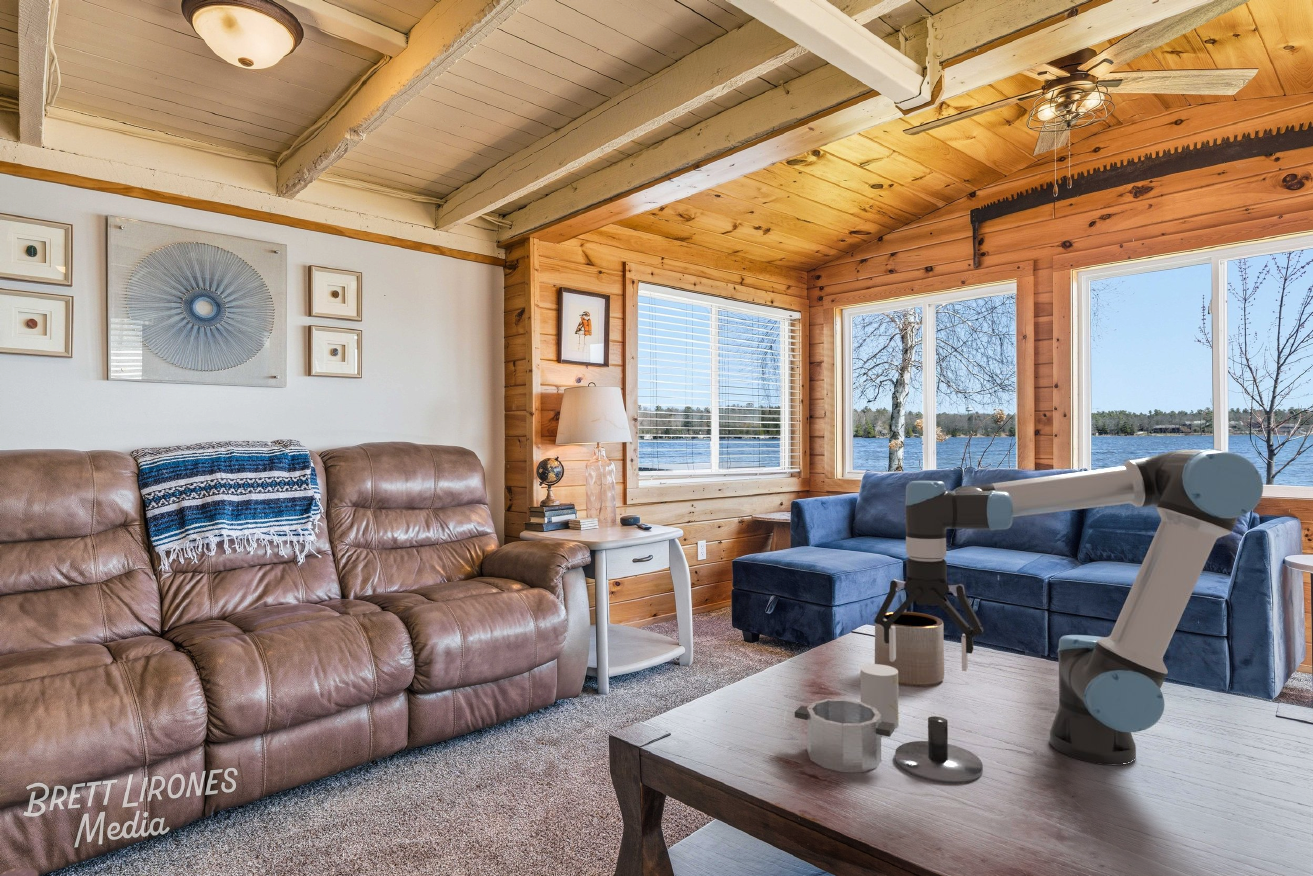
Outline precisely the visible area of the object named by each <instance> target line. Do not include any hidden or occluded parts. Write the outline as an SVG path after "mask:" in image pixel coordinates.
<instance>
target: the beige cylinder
mask: <svg viewBox="0 0 1313 876" xmlns="http://www.w3.org/2000/svg"><path fill="white" fill-rule="evenodd" d="M860 702H862V703H865V704H867V705H869V706H871V707H874V708H876V709H877V711H878V712H879V713H880V715H881V721H883V722H888V723H893V724H895V729H897V728H898V727H899V724H900V723H899V720H900V719H899V717H900V716H899V713H900V712H899V684H898V670H897V669H895V668H893V667H891V666H887V665H880V664H875V663H872V664H871V663H870V664H864V665H862V666H861V667H860Z"/></svg>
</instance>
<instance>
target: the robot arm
mask: <svg viewBox="0 0 1313 876" xmlns="http://www.w3.org/2000/svg"><path fill="white" fill-rule="evenodd" d="M1263 492H1264V483H1263V479H1262V476H1261V474H1260V473H1259V471H1258V469H1257V467H1256V466H1255V465H1254V463H1252V462H1251V461H1250V460H1249V459H1247V458H1245V457H1244V456H1242V455H1240V454H1237V453H1235V452H1231V451H1228V450H1221V449H1219V448H1218V449H1216V448H1215V449H1214V448H1210V449H1191V448H1190V449H1187V448H1186V449H1179V450H1173V451H1168V452H1165V453H1161V454H1157V455H1152V456H1148V457H1143V458H1136V459H1129V460H1125V462H1124V464H1122V466H1115V467H1109V468H1108V467H1107V468H1099V469H1092V470H1091V469H1090V470H1085V471H1077V472H1069V473H1063V474H1062V473H1061V474H1056V475H1046V476H1038V477H1031V478H1023V479H1018V480H1011V481H1002V482H995V483H994V482H993V483H990V484H979V485H974V486H973V485H972V486H971V485H962V486H959V487H956V488H955V489H953V490H947V488H946V484H945V482H944V481H940V480H911V481H910V482H908V483H907V484H906V486H905V502H904V505H905V506H904V509H905V532H906V533H905V554H906V557H907V556H908V557H907V559H906V579H905V581H902V580H899V579H898V578H893V579H892V580H891V581H890V583H889V590H888V591H889V592H888V593H887V595H886V597H885V599H884V601H883V603H882V605H881V606H880V607H879V610H878V612H877V614H876V615H877V616H876V615H875V616H876V618H875V617H874V620H873V621H874V624H875V623H876V624H880V625H882V626H883V628H884V642H885V643H888V644H889V654H890V661H892V662H894V660H895V659H896V626H891V625H892V623H893V622H894V621H895V620H896V619H897V618H898V617H899V616H900V615H901V614H902V613H903V612H906V610H907V609H908V608H909V607H910V606H911V604H912V603H913V602H914V603H916V604H917V605H918V606H924V605H927V606H930V607H936V606H937V605H938V606H939V607H940V608H941V609H942V610H944V612H945V613H946V614H947V616H949V618H950V619H951V620H952V621H953V622H954V623H955V625H956V626H957V627H958V628H959V629H960V631H961V632H962V634H961V635H962V636H961V671H962V672H967V670H968V667H969V665H968V662H969V661H968V660H969V659H968V658H969V657H968V654H972V653H973V651H974V637H975V636H981V635H982V634H983V632H984V627H983V625H982V623H981V621H980V620H979V617H978V616H977V615H976V612H975V610H974V608H973V606H972V605H971V603H970V601H969V599H968V597H967V596H966V589H965V585H964V584H963V583H959V584H953V585H952V584H951V585H950V584H949V583H948V580H947V579H948V577H947V575H948V574H947V573H948V571H947V565H948V564H947V561H946V560H945V559H944V558H946V557H947V529H951V530H954V529H957V530H958V529H959V530H960V529H962V530H963V529H965V530H987V531H988V530H990V531H995V530H1009V528H1011V527H1012V524H1013V522H1014V517H1021V516H1031V515H1039V514H1040V515H1041V514H1051V513H1056V512H1057V513H1058V512H1065V511H1072V510H1073V511H1074V510H1083V509H1091V508H1099V507H1100V508H1101V507H1108V506H1109V507H1110V506H1117V505H1118V506H1119V505H1126V504H1130V505H1132V506H1134V507H1136V508H1144V507H1153V506H1154V507H1156V508H1155V509H1156V511H1157V513H1158V515H1159V516H1160V522H1159V524H1158V525H1159V526H1158V527H1157V530H1156V531H1155V534H1154V536H1153V538H1152V541H1151V543H1150V546H1149V548H1148V550H1147V553H1146V555H1145V557H1144V559H1143V561H1142V562H1141V563H1142V564H1141V566H1140V568H1139V569H1138V573H1137V574H1136V576H1135V580H1134V581H1133V584H1132V587H1131V588H1130V589H1129V593H1128V594H1127V595H1128V596H1127V597H1126V600H1125V602H1124V603H1123V606H1122V609H1121V611H1120V613H1119V615H1118V618H1117V620H1116V622H1115V625H1114V626H1113V628H1112V631H1111V633H1110V635H1109V636H1105V637H1104V636H1098V635H1097V636H1096V635H1086V634H1085V635H1083V634H1069V635H1068V634H1067V635H1062V636H1061V637H1060V638H1059V639H1058V649H1057V654H1058V709H1057V711H1056V714H1055V716H1054V719H1053V722H1052V724H1051V728H1050V730H1049V743H1050V745H1051V746H1052V747H1053V748H1054V749H1055V750H1056V751H1058V752H1060V753H1062V754H1064V755H1066V756H1069V757H1070V758H1073V759H1077V760H1080V761H1083V762H1088V763H1092V764H1098V763H1100V764H1099V765H1106V764H1123V763H1128V762H1131V761H1132V760H1134V759H1135V758H1137V747H1136V746H1137V745H1136V743H1135V741H1134V737H1133V735H1132V733H1138V732H1141V731H1146V730H1148V729H1149V728H1152V727H1153V726H1154V725H1156V724H1157V722H1159V721H1160V720H1161V718H1162V716H1163V714H1164V710H1165V698H1164V696H1163V695H1164V694H1163V692H1162V689H1161V688H1162V685H1163V684H1164V681H1165V679H1166V677H1167V675H1168V669H1167V667H1166V665H1165V663H1164V661H1163V660H1164V658H1163V657H1164V656H1165V654H1166V651H1167V650H1168V647H1169V645H1170V642H1171V640H1172V638H1173V635H1174V633H1175V631H1176V629H1177V627H1178V625H1179V622H1180V620H1181V618H1182V615H1183V613H1184V611H1185V609H1186V607H1187V604H1188V603H1189V602H1190V601H1189V600H1190V599H1191V596H1192V594H1193V592H1194V589H1195V587H1196V585H1197V582H1198V581H1199V579H1200V576H1201V574H1202V572H1203V569H1204V567H1205V565H1206V563H1207V561H1208V559H1209V556H1210V555H1211V552H1212V550H1213V548H1214V545H1215V543H1216V541H1217V540H1218V539H1219V538H1222V537H1225V536H1228V535H1231V534H1232V532H1233V529H1234V528H1235V525H1236V523H1237V522H1238V518H1239V517H1241V516H1242V517H1243V516H1245V515H1246V514H1249V513H1250V512H1251V511H1253V510H1254V509H1255V508H1256V507H1257V506H1258V504H1259V503H1260V502H1261V499H1262V497H1263ZM902 588H904V589H905V591H906V592H907V594H908V595H909V596H908V597H907V598H906V599H905V600H904V601H903V602H902V604H900V605H899V607H897V609H895V611H893V612H894V613H893V614H892V615H891V616H890V617H889V618H888V619H885V618H884V616H885V614H886V613H887V612H889V609H890V607H891V605H892V603H893V601H894V599H895V598H896V595H897V593H898V592H900V591H901V590H902ZM949 592H951V593H952V594H953V596H955V597H956V598H957V600H958V602H959V604H960V606H961V609H963V612H964V613H965V615H966V618H967V619H968V621H969V623H970V624H971V626H970V625H969V623H967V622H966V620H965V619H964V618H963V617H962V615H961V614H960V613H959V612H958V611H957V610H956V608H955V607H954V606H953V605H952V604H951V602H950V601H949V600H948V598H947V597H946V596H947V595H948V594H949ZM1135 760H1136V759H1135ZM1135 760H1134V761H1135ZM1131 763H1132V762H1131ZM1128 764H1129V763H1128ZM1123 765H1124V764H1123Z"/></svg>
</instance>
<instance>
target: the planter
mask: <svg viewBox="0 0 1313 876" xmlns="http://www.w3.org/2000/svg"><path fill="white" fill-rule="evenodd" d="M894 612H895V611H887V613H886V614H885V616H884V618H885V619H888V618H889V617H890V616H891V615H892V614H893V613H894ZM876 616H877V614H876V615H875V616H874V619H875V618H876ZM891 626H896V659H895V660H894V662H892V661H890V654H889V644H888V643H885V642H884V628H883V626H882V625H880V624H876V623H875V622H874V664H880V665H887V666H891V667H893V668H895V669H897V670H898V685H901V686H906V687H908V686H909V687H931V686H933V685H937V684H939V683H941V682H942V681H943V680H944V678H945V650H944V649H945V648H944V647H945V644H944V643H945V641H944V639H945V638H944V621H943V620H942V619H941V618H939V617H938V616H934V615H930V614H928V613H927V614H926V613H920V612H914V611H913V612H912V611H904V612H903V613H902V614H901V615H900V616H899V617H898V618H897V619H896V620H895V621H894V622H893V623H892V625H891Z"/></svg>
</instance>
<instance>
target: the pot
mask: <svg viewBox="0 0 1313 876" xmlns="http://www.w3.org/2000/svg"><path fill="white" fill-rule="evenodd" d="M794 718H795V719H801V720H806V738H807V739H806V741H807V742H806V744H807V745H806V748H807V751H806V752H807V754H808V757H809V759H810V761H811V762H813V763H815V764H817V765H818V766H820V767H822V768H824V769H829V770H832V771H836V772H840V773H865V772H869V771H871V770H874V769H877V768H878V766H879V765H880V763H881V762H882V736H883V737H887V738H891V736H892V734H893V733H894V731H895V724H893V723H888V722H883V721H881V715H880V713H879V712H878V711H877V709H876V708H874V707H871V706H869V705H867V704H865V703H862V702H861V701H856V700H851V699H845V698H841V699H840V698H825V699H822V700H817V701H813V702H812V703H810V705H809V706H807V705H806V706H805V705H800V706H799V707H798V708H797V709H796V710H795V711H794Z"/></svg>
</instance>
